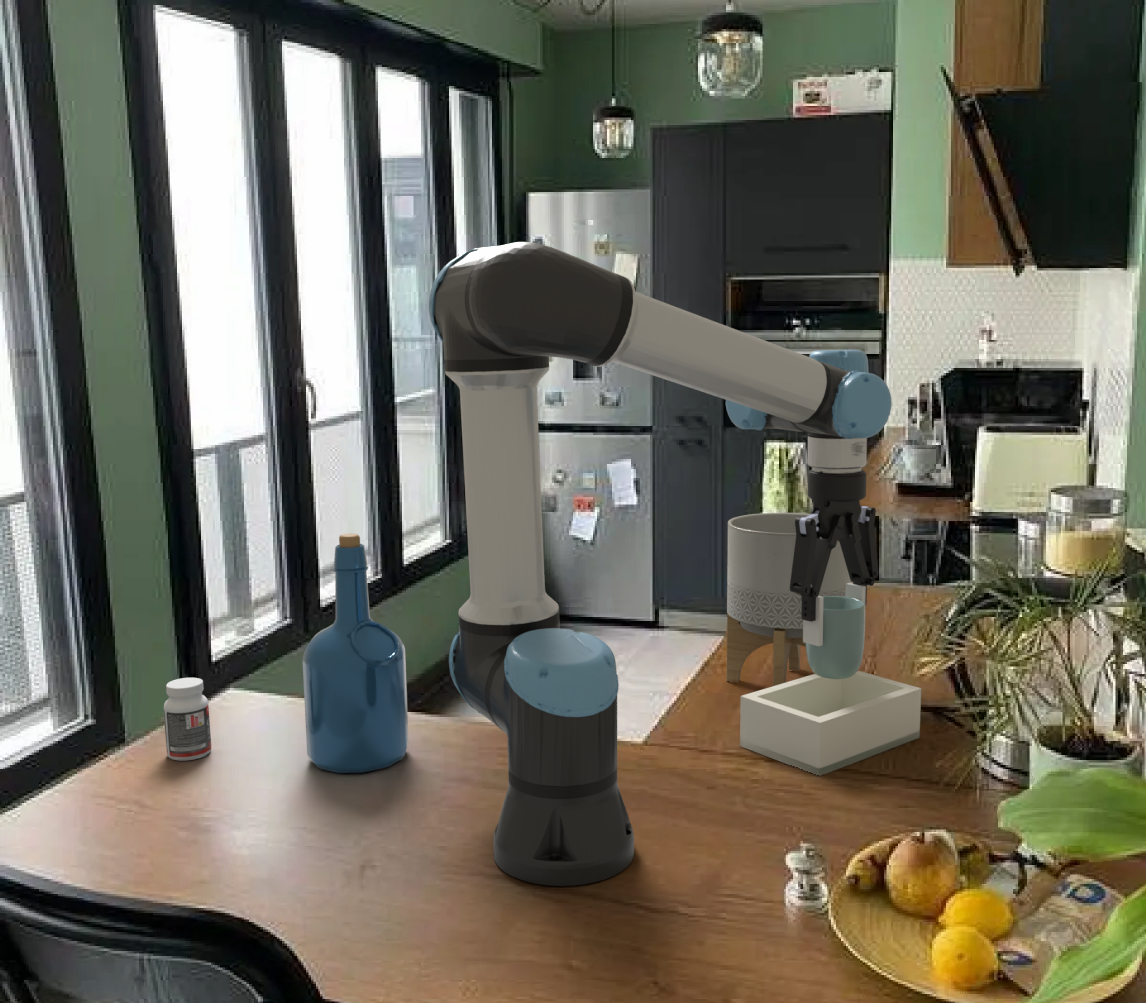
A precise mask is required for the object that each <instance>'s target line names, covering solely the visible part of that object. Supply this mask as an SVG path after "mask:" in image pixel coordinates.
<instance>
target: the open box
mask: <svg viewBox="0 0 1146 1003" xmlns="http://www.w3.org/2000/svg"><path fill="white" fill-rule="evenodd" d="M921 701H922V688H921V687H917V686H914V685H910V684H907V683H903V682H900V681H896V680H893V679H889V678H886V677H882V676H880V675H875V674H871V673H868V672H865V671H861V670H858V671H857V672H856V673H855V674H854V675H853V676H851V677H849V678H845V679H828V678H823V677H820V676H818V675H817V674H815V673H813V674H809V675H807V676H803V677H799V678H797V679H793V680H790V681H786V683H783V684H779V685H776V686H773V685H772V686H770V687H766V688H763V689H760V690H756V691H753V692H750V693H749V692H748V693H746V694H743V695H740V707H739V710H740V715H739V716H740V717H739V718H740V720H739V721H740V723H739V724H740V726H739V740H740V741H739V747H741V748H744V749H746V750H749V751H752V752H754V753H757V754H759V755H763V756H765V757H767V758H770V759H771V760H772V759H773V760H776V761H778V762H780V763H783V764H785V765H789V766H791V765H792V766H791V767H793V766H795V767H794V768H796V767H798V768H800V769H799V770H801V769H803V770H802V771H804V770H805V771H804V772H806V771H808V772H807V773H809V772H811V773H813V774H812V775H814V774H816V775H815V776H817V775H819V776H818V777H821V776H823V774H824V775H826V774H829V773H831V772H834V771H836V770H840V769H841V768H844V767H846V766H849V765H852V764H854V763H858V762H860V761H862V760H865V759H868V758H870V757H873V756H876V755H877V754H881V753H883V752H887V751H888V750H892V749H893V748H894V749H895V748H896V747H899V746H901V745H904V744H906V743H910V742H911V741H915V740H917V739H920V735H921V734H920V732H921V729H920V728H921V704H922V702H921ZM798 768H797V769H798ZM811 773H810V774H811ZM825 773H826V774H825ZM820 775H821V776H820Z"/></svg>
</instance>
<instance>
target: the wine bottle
mask: <svg viewBox="0 0 1146 1003" xmlns="http://www.w3.org/2000/svg"><path fill="white" fill-rule="evenodd" d="M338 541H339V542H338V543H339V544H337V545H336V546H335V549H334V559H333V569H332V571H333V572H334V573H335V574H334V578H335V580H334V582H335V585H334V587H335V597H334V598H335V619H334V622H333V623H332V624H331V625H329V626H327V627H326V628H325V627H324V628H323V629H321V630H320V631H319V632H317V633H316V634H315V635H314V636H313V637H312V638H311V640H310V641H309V643H308V644H307V646H306V647H305V650H304V652H303V655H302V675H303V676H302V677H303V679H302V680H303V698H304V717H305V735H306V736H305V737H306V754H307V757H308V759H309V760H310V762H312V764H313V765H314V766H316V767H317V768H318V769H319V770H324V771H329V772H334V773H338V774H348V773H349V774H351V773H352V774H354V773H355V774H357V773H367V772H372V771H376V770H380V769H381V770H382V769H385V768H389V767H390V766H392V765H394V764H396V763H397V762H399V761H401V760H403V759H404V757H405V755H406V753H407V749H408V746H409V722H408V721H409V720H408V691H407V690H408V689H407V665H406V664H407V663H406V646H405V644H404V643H403V641H402V638H401V637H400V636H399V635H398V634H397V633H395V632H394V631H393V630H391V629H390V628H388V627H387V626H384V625H383V624H381V623H379V622H377V621H374V619H373V618H372V617H371V612H370V600H369V598H370V597H369V587H368V575H367V574H368V573H367V571H368V569H369V566H368V560H367V554H366V548H365V544H363V543H361V538H360V535H359V533H343V534H341V535H339V537H338Z"/></svg>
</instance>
